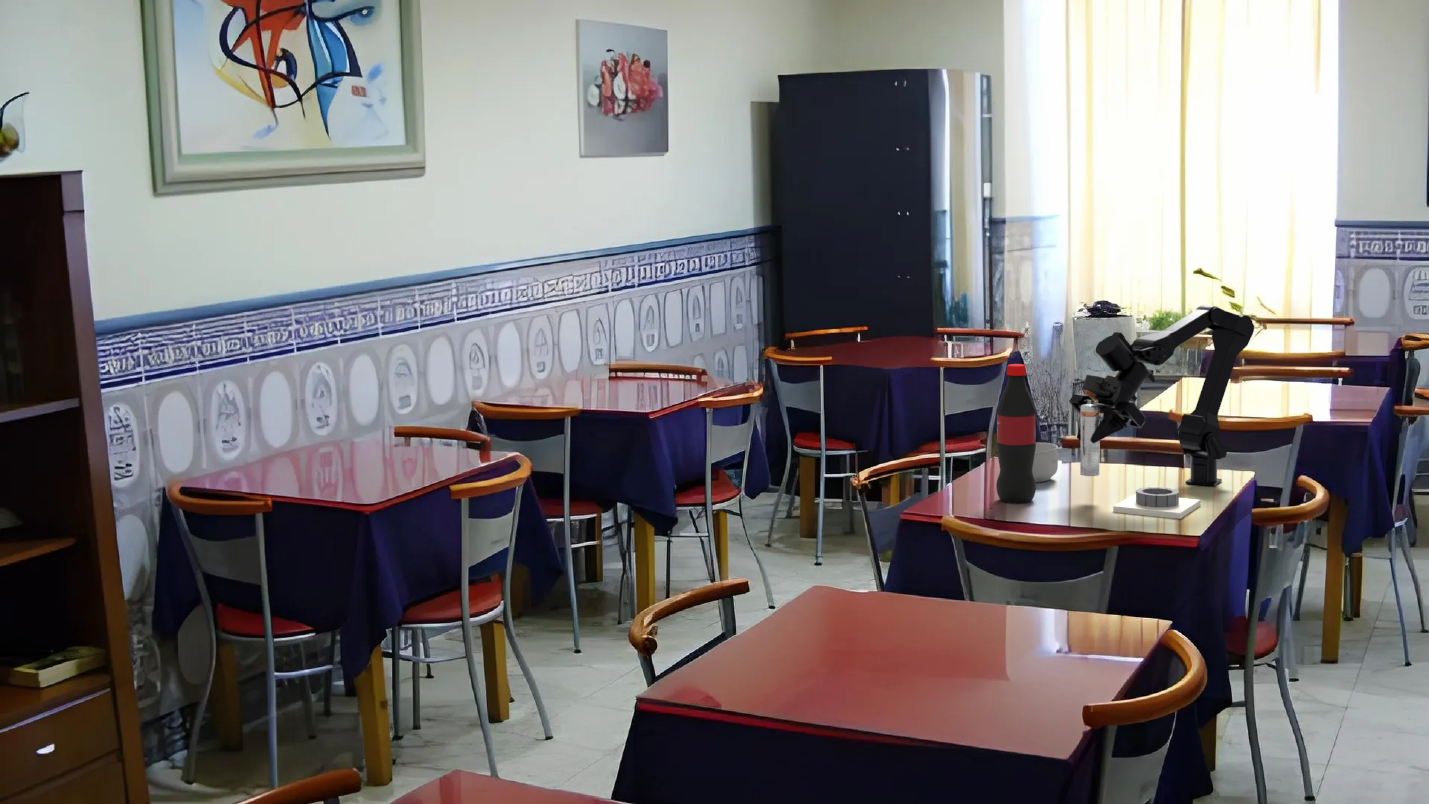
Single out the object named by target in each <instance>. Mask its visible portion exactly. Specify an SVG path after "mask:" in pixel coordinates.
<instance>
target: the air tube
mask: <svg viewBox="0 0 1429 804" xmlns="http://www.w3.org/2000/svg"><path fill="white" fill-rule="evenodd" d="M1079 415H1080V424H1081V440H1080V449H1079V450H1080V452H1079V453H1080V455H1079V456H1080V459H1079V460H1080V464H1079V465H1080V466H1079V467H1080V471H1079V472H1080V473H1079V474H1080V476H1084V477H1097V476H1100V463H1101V462H1100V458H1101V457H1100V456H1101V455H1100V454H1101V453H1100V447H1101V446H1100V445H1101V443H1100V442H1101V440H1099V441H1098V442H1096V443H1092V442H1091V438H1092V436H1093V434H1094V432H1095V431H1096V429H1097V427H1098V426H1099V424H1100V421H1101V413H1100V405H1094V404H1086V405H1081V411H1080V414H1079Z"/></svg>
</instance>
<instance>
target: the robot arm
mask: <svg viewBox="0 0 1429 804" xmlns="http://www.w3.org/2000/svg"><path fill="white" fill-rule="evenodd" d="M1206 329H1208V330H1211V331H1212V333H1211V339H1212V344H1213V348H1214V349H1213V350H1214V351H1213V354H1212V357H1211V359H1210V363H1209V365H1208V369H1207V371H1206V375H1205V378H1204V381H1203V385H1202V388H1201V391H1200V393H1199V396H1198V399H1197V403H1196V405H1195V408H1194V410H1193V411H1191V413H1190V414H1188V413H1187V414H1186V413H1183V415H1182V417H1181V421H1180V424H1179V427H1178V428H1177V430H1176V432H1177V431H1178V434H1177V440H1178V442H1179V444H1180V448H1181V451H1182V454H1183V455H1188V456H1190V478H1188V479H1187V480H1185V482H1184V483H1185V484H1188V485H1199V486H1200V485H1201V486H1210V487H1215V486H1216V485H1218V484H1219V483H1221V482H1222V480H1223V479H1222V478H1218V460H1222V459H1224V458H1226V456H1227V454H1228V447H1227V446H1226V445H1225V443H1224V442H1223V441H1222V440H1221V439H1220V432H1221V426H1220V422H1219V417H1218V415H1219V411H1220V409H1221V405H1222V402H1223V399H1224V397H1225V393H1226V390H1227V387H1228V384H1229V381H1230V377H1231V374H1232V371H1233V368H1234V366H1235V362H1236V360H1237V356H1238V355H1239V354H1240V353H1241V352H1242V351H1243V350H1244V349H1245V348H1246V347H1248V345H1249V343H1250V340H1251V338H1252V337H1253V335H1254V332H1255V324H1254V322H1253V320H1252V319H1251V317H1250V316H1249V315H1245V314H1236V313H1233V312H1229V311H1228V310H1224V309H1223V308H1220V307H1218V306H1216V305H1205V304H1204V305H1200V306H1198V307H1196V309H1195V310H1194V311H1192V312H1191V313H1188V315H1187V314H1186V316H1184V317H1182V318H1181V319H1179V320H1178V321H1176V322H1174V323H1173V324H1171V325H1169V326H1168V327H1166V328H1165V329H1163V330H1160V331H1158V332H1152V333H1148V334H1145V335H1142V336H1140V337H1137V338H1136V339H1135V340H1133V341H1132V343H1130V342H1129V341H1128V340H1127V339H1126V337H1125V336H1124V334H1123V333H1122V332H1119V331H1113V333H1112V334H1111V335H1109V336H1107V337H1105V338H1104V339H1102V340H1101V341H1099V342H1098V343H1097V345H1096V348H1095V353H1096V354H1097V356H1098V357H1099V358H1100V359H1101V360H1102V362H1104V363H1105V365H1106V366H1107V367H1108V368H1109V369H1110V371H1112V372H1116V374H1115V376H1113V375H1108V374H1107V375H1106V376H1105V377H1102V376H1098V375H1090V374H1086V376H1085V379H1084V382H1083V385H1082V387H1081V389H1082V390H1084V391H1088V392H1090V393H1092V394H1093V395H1092V397H1093V399H1092V397H1091V396H1090V395H1089V394H1083V393H1074V394H1073V395H1072V396H1071V397H1070V399H1069V401H1068V402H1069V404H1070V405H1071V406H1072V407H1073V408H1074V409H1075V411H1077V413H1078V414H1079V415H1080V411H1081V405H1086V404H1094V405H1100V414H1102V415H1103V417H1102V419H1101V420H1100V424H1099V426H1098V427H1097V429H1096V431H1095V432H1094V434H1093V436H1092V438H1091V442H1092V443H1096V442H1098V441H1099V440H1100V441H1102V440H1103V439H1105V438H1107V437H1109V436H1111V435H1113V434H1115V433H1117V432H1119V431H1121V430H1122V431H1123V430H1124V429H1125V430H1126V429H1128V425H1127V423H1129V424H1130V427H1132V428H1134V429H1142V427H1143V425H1144V424H1145V423H1146V415H1145V414H1144V412H1142V411H1141V409H1140V407H1138V406H1137V405H1136V403H1134V402H1136V401H1137V399H1138V397H1137V396H1136V394H1137V393H1138V391H1139V389H1140V388H1141V387H1142V385H1143V384H1144V382H1146V383H1152V384H1154V383H1155V382H1156V378H1155V375H1154V369H1148V367H1147V366H1146V365H1150V366H1157V367H1158V366H1161V365H1163V364H1164V363H1166V362H1167V361H1168V360H1169V359H1170V358H1172V357H1173V355H1174V353H1175V350H1176V349H1177V348H1179V346H1181V345H1182V344H1184V343H1186V342H1188V341H1189V340H1191V339H1192V338H1194V337H1196V336H1197V335H1199V334H1200V333H1202V332H1204V331H1205V330H1206ZM1094 399H1095V400H1097V402H1095V401H1094ZM1129 421H1130V422H1129ZM1076 438H1077V440H1078V441H1081V423H1080V424H1079V428H1078V431H1077V435H1076Z"/></svg>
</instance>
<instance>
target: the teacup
mask: <svg viewBox="0 0 1429 804" xmlns="http://www.w3.org/2000/svg"><path fill="white" fill-rule="evenodd" d="M1058 450H1059V446H1058V445H1057V444H1055V443H1051V442H1050V443H1049V442H1036V450H1035V456H1034V462H1033V469H1032V472H1033V476H1034V479H1035V482H1036V483H1041V482H1047V481H1049V480H1051V479H1052V477H1053V476H1055V475H1056V474H1057V472H1058V468H1059V467H1058V466H1059V455H1058V454H1059V453H1058V452H1059V451H1058Z"/></svg>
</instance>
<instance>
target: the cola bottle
mask: <svg viewBox="0 0 1429 804" xmlns="http://www.w3.org/2000/svg"><path fill="white" fill-rule="evenodd" d="M1026 369H1027V367H1026V365H1025V364H1021V363H1011V364H1008V365H1007V367H1006V377H1007V382H1006V386H1005V388H1004V390H1003V392H1002V394H1001V396H1000V398H999V401H998V404H997V406H996V407H997V408H996V431H997V432H996V449H997V450H996V452H997V459H998V464H999V465H998V466H999V474H998V475H997V476H998V477H997V480H996V483H995V484H996V486H995V487H996V493H997V496H998V498H999V500H1000V501H1002V502H1004V503H1009V504H1027V503H1029V502H1031V501H1032V500H1033V499H1034V498H1035V494H1036V490H1037V484H1036V483H1037V482H1035V479H1034V476H1033V472H1032V469H1033V462H1034V456H1035V450H1036V443H1037V442H1036V414H1037V409H1036V405H1035V403H1034V400H1033V398H1032V395H1031V393H1030V391H1029V389H1028V386H1027V384H1026V379H1025V377H1026V376H1027V370H1026Z"/></svg>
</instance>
